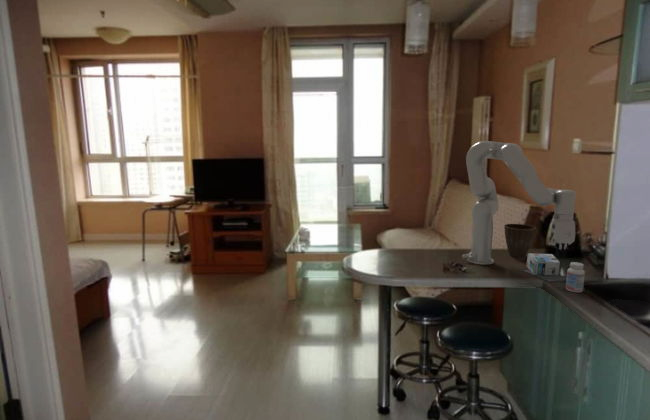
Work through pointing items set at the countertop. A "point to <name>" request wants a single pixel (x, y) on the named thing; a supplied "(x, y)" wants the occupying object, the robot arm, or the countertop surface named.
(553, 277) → the mat
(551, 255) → the light bulb box
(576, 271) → the pill bottle
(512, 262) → the countertop surface
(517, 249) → the plant pot
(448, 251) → the countertop surface
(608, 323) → the countertop surface
